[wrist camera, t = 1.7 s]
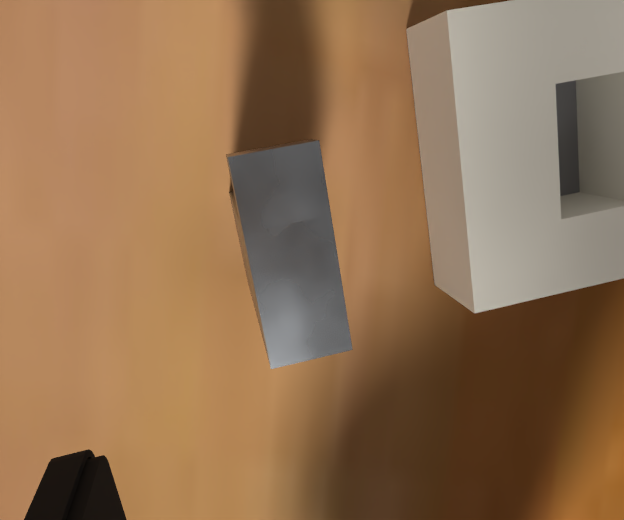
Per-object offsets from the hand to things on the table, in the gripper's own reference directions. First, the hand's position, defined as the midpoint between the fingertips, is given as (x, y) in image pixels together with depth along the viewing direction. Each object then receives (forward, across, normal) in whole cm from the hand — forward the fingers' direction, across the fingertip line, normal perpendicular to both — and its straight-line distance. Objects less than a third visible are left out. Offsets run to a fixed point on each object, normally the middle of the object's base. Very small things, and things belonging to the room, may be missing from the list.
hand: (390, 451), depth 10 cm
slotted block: (+21, -16, -2) cm, 26 cm away
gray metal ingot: (+21, 0, -1) cm, 21 cm away
